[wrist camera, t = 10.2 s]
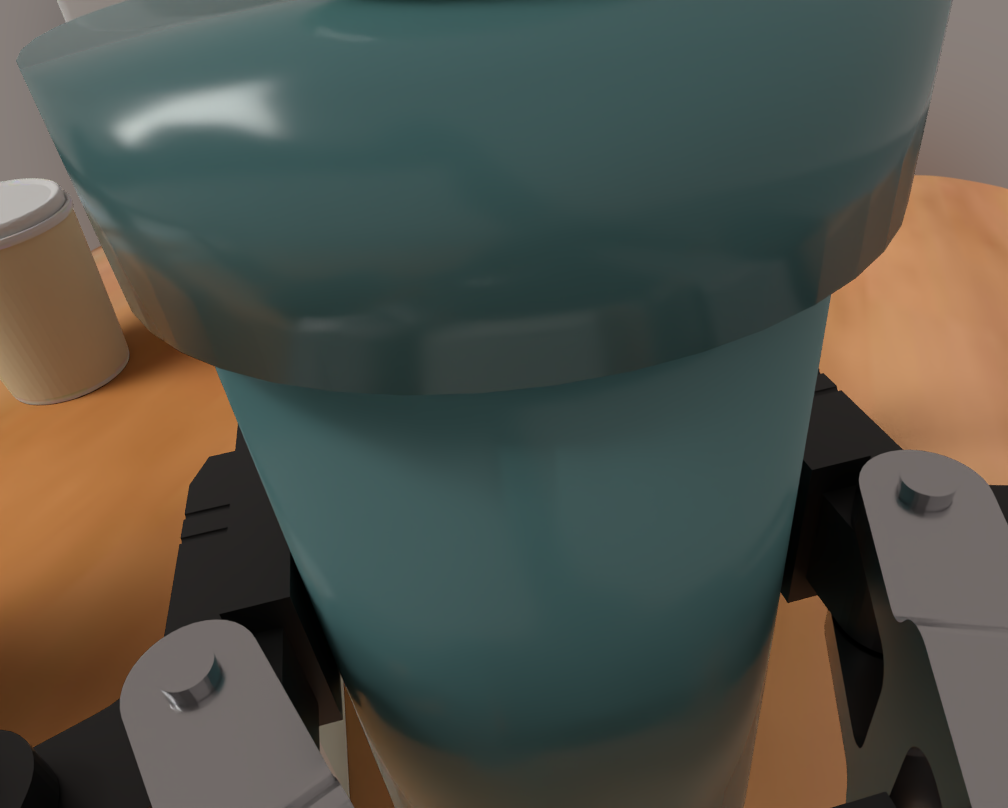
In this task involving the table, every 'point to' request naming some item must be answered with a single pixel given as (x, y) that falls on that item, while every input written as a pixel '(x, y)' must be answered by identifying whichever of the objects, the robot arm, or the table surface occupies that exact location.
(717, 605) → the teal peg with ball
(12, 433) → the table surface
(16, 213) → the coffee cup
